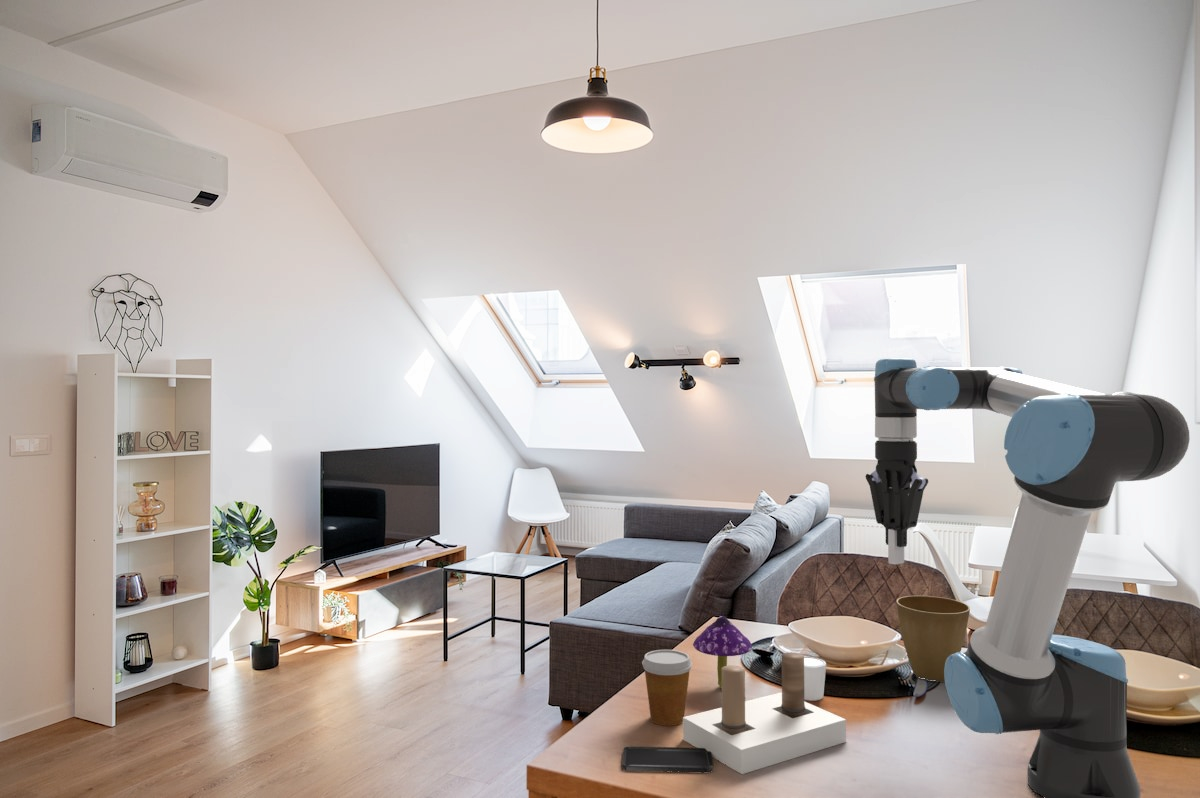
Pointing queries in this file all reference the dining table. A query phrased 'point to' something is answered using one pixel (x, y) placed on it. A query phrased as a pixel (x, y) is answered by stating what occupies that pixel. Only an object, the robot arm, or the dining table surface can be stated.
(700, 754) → the phone
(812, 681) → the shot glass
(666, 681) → the disposable coffee cup
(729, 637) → the decorative mushroom
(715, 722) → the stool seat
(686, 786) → the dining table surface
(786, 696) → the walnut leg
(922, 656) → the plant pot
